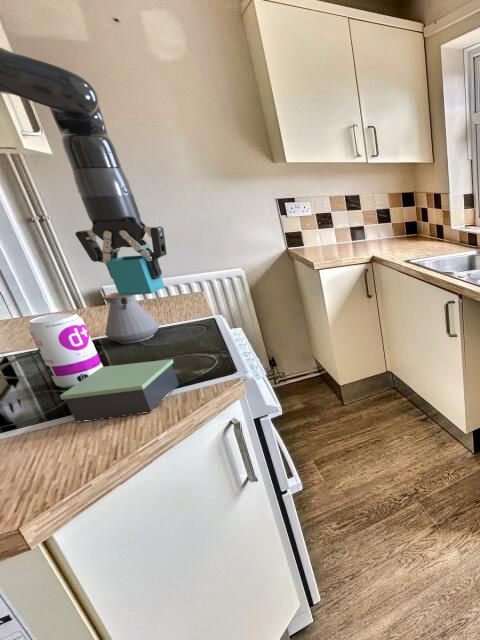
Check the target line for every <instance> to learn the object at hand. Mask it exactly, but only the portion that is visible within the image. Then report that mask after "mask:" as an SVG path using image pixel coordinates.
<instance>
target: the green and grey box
mask: <svg viewBox="0 0 480 640" xmlns="http://www.w3.org/2000/svg"><path fill="white" fill-rule="evenodd" d="M173 364H174V359H173V358H171V359H161V360H152V361H143V362H136V363H135V362H134V363H125V364H118V365H117V364H116V365H107V366H103V367H101V368H100V369H98V370H97V371H95V372H94V373H93V374H91V375H90V376H88V377H87V378H85V379H84V380H82V381H81V382H79V383H78V384H76V385H75V386H73V387H71V388H68V389H67V390H66V391H65V392H63V393H62V394H60V395H59V398H60V400H65V403H66V404H67V406H68V408H69V411H70V413H71V415H72V417H73V419H74V421H75V423H76V422H77V421H84V420H94V419H101V418H109V417H117V418H119V417H118V416H123V415H130V414H137V413H143V412H151V411H152V410H153V409H154V408H155V407H156V406H157V405H158V404H159V403H160V402H161V401H162V399H163V398H164V397H165V396H166V395H167V394H168V393H169V392H171V391H172V390H173V389H175V390H176V389H177V388H178V387H179V386H180V383H179V380H178V378H177V375H176V371H175V369H174V367H173ZM109 419H110V418H109Z"/></svg>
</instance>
